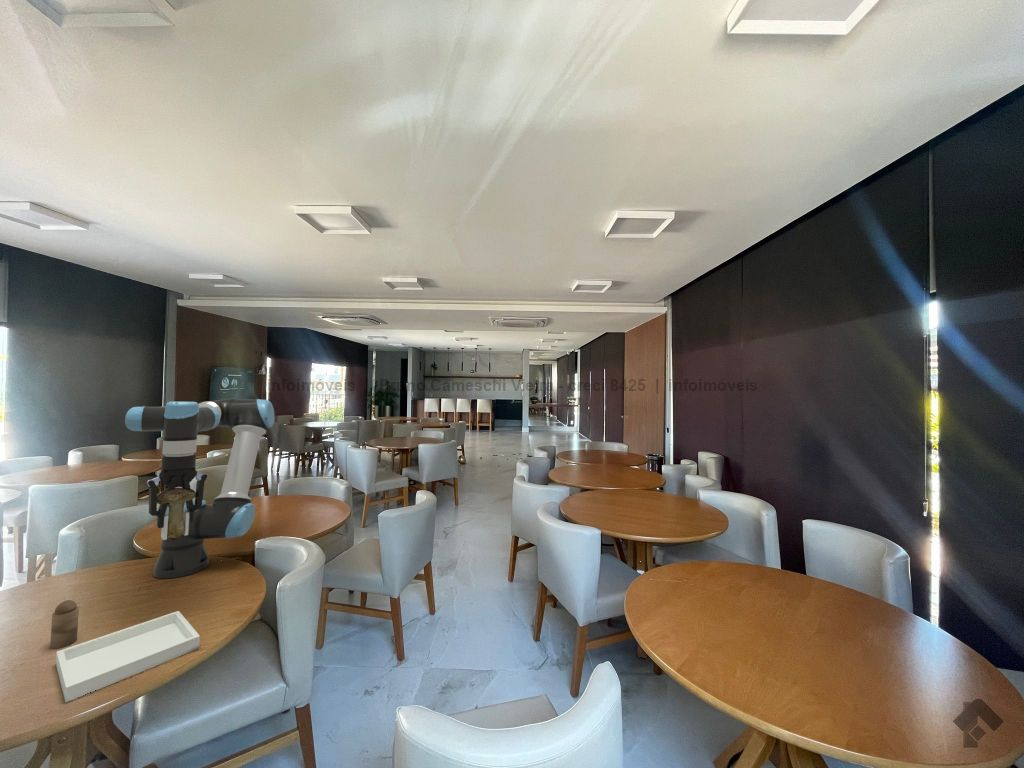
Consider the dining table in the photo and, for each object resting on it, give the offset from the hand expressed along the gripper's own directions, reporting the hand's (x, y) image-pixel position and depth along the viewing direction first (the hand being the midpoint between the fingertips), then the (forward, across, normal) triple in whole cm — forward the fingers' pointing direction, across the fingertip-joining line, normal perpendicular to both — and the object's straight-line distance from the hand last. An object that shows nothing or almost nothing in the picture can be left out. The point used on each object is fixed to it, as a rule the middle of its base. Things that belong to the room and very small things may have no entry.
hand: (174, 536), depth 112 cm
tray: (+22, +11, +15) cm, 29 cm away
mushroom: (+1, 0, 0) cm, 1 cm away
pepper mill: (+22, +20, -4) cm, 30 cm away
